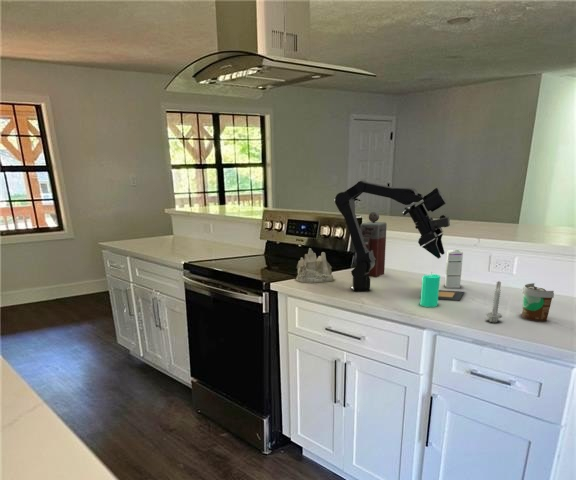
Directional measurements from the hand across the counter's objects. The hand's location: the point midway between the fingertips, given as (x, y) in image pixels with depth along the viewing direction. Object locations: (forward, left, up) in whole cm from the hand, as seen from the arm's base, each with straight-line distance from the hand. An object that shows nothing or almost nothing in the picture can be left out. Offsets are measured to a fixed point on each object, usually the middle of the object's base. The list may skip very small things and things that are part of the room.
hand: (441, 256), depth 190 cm
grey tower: (+11, +13, -15) cm, 23 cm away
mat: (+2, -1, -15) cm, 15 cm away
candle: (-8, -14, -15) cm, 22 cm away
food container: (+18, -36, -15) cm, 43 cm away
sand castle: (-43, +40, -15) cm, 61 cm away
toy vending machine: (-16, +44, -15) cm, 49 cm away
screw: (+5, -38, -15) cm, 41 cm away
